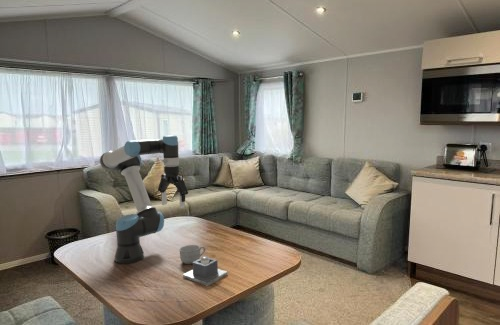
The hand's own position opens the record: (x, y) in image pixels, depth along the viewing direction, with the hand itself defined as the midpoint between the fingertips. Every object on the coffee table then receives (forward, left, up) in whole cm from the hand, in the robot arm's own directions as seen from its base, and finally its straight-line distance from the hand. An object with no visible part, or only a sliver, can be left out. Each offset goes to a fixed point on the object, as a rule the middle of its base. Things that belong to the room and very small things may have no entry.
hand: (173, 206), depth 175 cm
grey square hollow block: (+24, -3, -29) cm, 38 cm away
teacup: (+7, +6, -31) cm, 32 cm away
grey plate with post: (+24, -3, -31) cm, 39 cm away
